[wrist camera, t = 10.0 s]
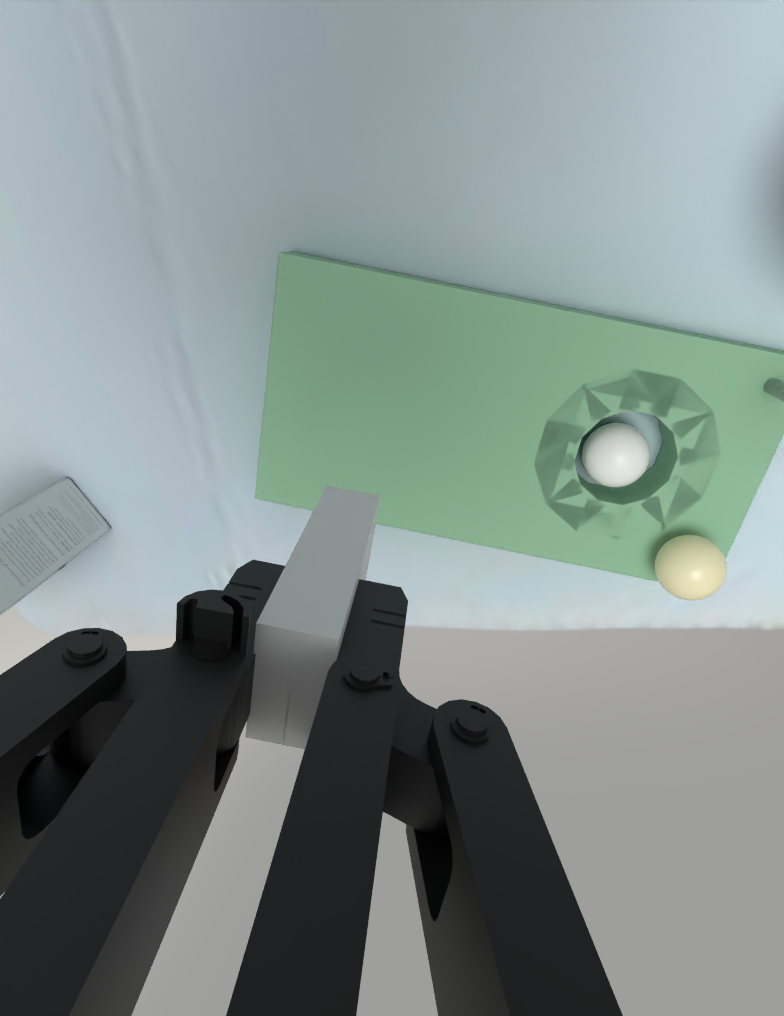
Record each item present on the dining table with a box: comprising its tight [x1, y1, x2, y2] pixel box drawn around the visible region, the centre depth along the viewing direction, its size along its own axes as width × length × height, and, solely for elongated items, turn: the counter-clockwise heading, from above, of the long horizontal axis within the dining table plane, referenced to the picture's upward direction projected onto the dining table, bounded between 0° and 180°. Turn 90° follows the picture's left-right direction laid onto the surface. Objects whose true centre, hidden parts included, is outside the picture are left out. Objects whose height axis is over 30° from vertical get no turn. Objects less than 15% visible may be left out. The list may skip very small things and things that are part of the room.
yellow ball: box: [655, 535, 727, 600], centre depth 32 cm, size 3×3×3 cm
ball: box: [582, 423, 650, 487], centre depth 33 cm, size 3×3×3 cm
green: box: [255, 251, 784, 582], centre depth 33 cm, size 26×13×2 cm, turn 79°
